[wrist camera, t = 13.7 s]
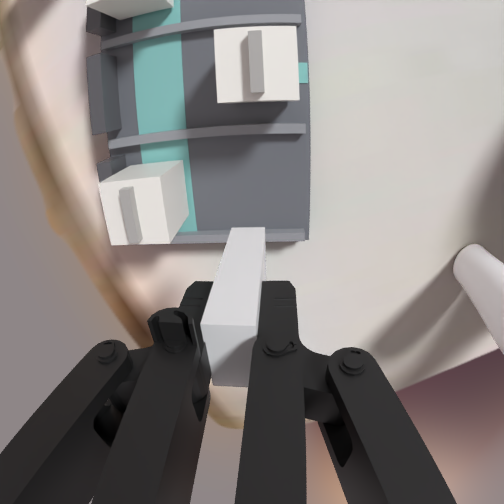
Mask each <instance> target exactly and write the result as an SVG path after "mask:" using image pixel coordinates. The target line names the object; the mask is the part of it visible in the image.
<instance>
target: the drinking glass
mask: <svg viewBox="0 0 504 504" xmlns="http://www.w3.org/2000/svg"><path fill="white" fill-rule="evenodd" d="M453 273H454V276H455V278H456V280H457V281H458V282H459V283H460V285H461V286H462V287H463V289H464V290H465V292H466V293H467V295H468V296H469V298H470V300H471V301H472V303H473V304H474V306H475V308H476V309H477V311H478V313H479V315H480V316H481V318H482V320H483V322H484V323H485V325H486V327H487V329H488V330H489V332H490V334H491V336H492V337H493V339H494V341H495V342H496V344H497V345H498V347H499V348H500V350H501V351H502V353H503V354H504V263H502V262H501V261H500V260H498V259H497V258H496V257H494V256H493V255H492V254H490V253H489V252H488V251H487V250H486V249H485V248H483V247H482V246H481V245H479V244H470V245H468V246H466V247H464V248H463V249H462V250H461V251H460V252H459V254H458V255H457V257H456V259H455V261H454V265H453Z"/></svg>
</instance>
